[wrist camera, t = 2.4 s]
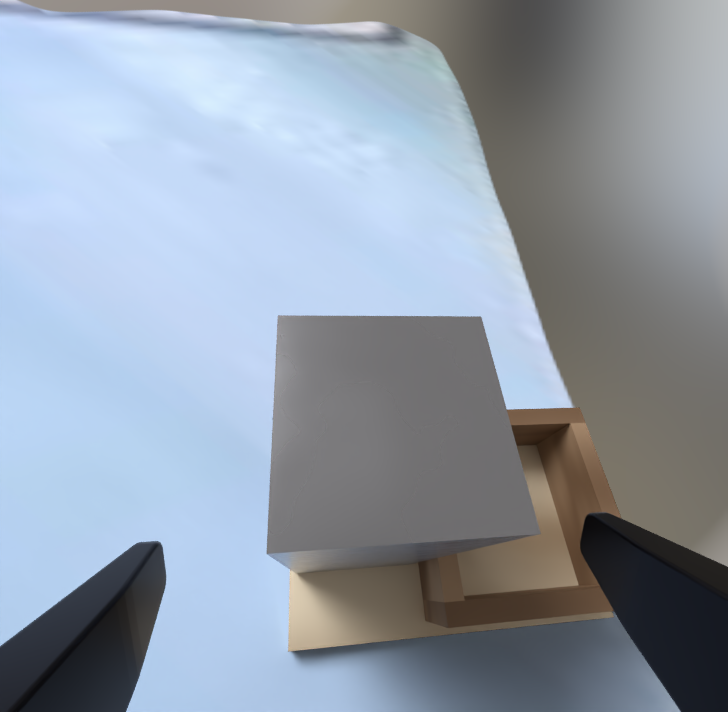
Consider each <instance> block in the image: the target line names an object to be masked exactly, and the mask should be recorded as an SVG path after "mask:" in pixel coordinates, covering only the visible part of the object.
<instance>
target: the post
mask: <svg viewBox="0 0 728 712" xmlns="http://www.w3.org/2000/svg"><path fill="white" fill-rule="evenodd" d="M539 534H541V533H540V529H539V525H538V522H537V518H536V515H535V511H534V507H533V504H532V500H531V496H530V493H529V489H528V485H527V482H526V478H525V475H524V471H523V467H522V464H521V460H520V456H519V453H518V449H517V446H516V442H515V438H514V435H513V431H512V427H511V424H510V420H509V416H508V413H507V409H506V406H505V402H504V398H503V395H502V391H501V387H500V384H499V380H498V376H497V373H496V369H495V366H494V362H493V358H492V355H491V351H490V347H489V344H488V340H487V337H486V333H485V329H484V326H483V322H482V318H481V317H452V316H278V324H277V345H276V366H275V388H274V409H273V430H272V451H271V473H270V494H269V515H268V536H267V554H268V555H269V556H271V557H272V558H274V559H275V560H277V561H278V562H280V563H281V564H283V565H284V566H286V567H287V568H289V569H290V570H292V571H293V572H295V573H296V574H299V573H311V572H324V571H336V570H349V569H361V568H374V567H386V566H399V565H409V564H413V563H418V562H422V561H426V560H431V559H435V558H439V557H444V556H448V555H452V554H457V553H461V552H465V551H469V550H474V549H478V548H482V547H487V546H491V545H495V544H500V543H504V542H508V541H513V540H517V539H521V538H526V537H530V536H534V535H539Z"/></svg>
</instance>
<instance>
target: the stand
mask: <svg viewBox="0 0 728 712" xmlns="http://www.w3.org/2000/svg"><path fill="white" fill-rule="evenodd" d="M507 413H508V416H509V420H510V424H511V427H512V431H513V435H514V438H515V442H516V446H517V449H518V453H519V456H520V460H521V464H522V467H523V471H524V475H525V478H526V482H527V485H528V489H529V493H530V496H531V500H532V504H533V507H534V511H535V515H536V518H537V522H538V525H539V529H540V533H541V534H539V535H534V536H530V537H526V538H521V539H517V540H513V541H508V542H504V543H500V544H495V545H491V546H487V547H482V548H478V549H474V550H469V551H465V552H461V553H457V554H452V555H448V556H444V557H439V558H435V559H431V560H426V561H422V562H418V563H413V564H409V565H399V566H386V567H374V568H361V569H349V570H336V571H324V572H311V573H299V574H296V573H295V572H293V571H292V570H290V592H289V643H288V651H297V650H307V649H316V648H326V647H336V646H345V645H355V644H364V643H374V642H383V641H393V640H402V639H412V638H421V637H431V636H440V635H450V634H459V633H469V632H478V631H488V630H497V629H507V628H517V627H526V626H536V625H545V624H555V623H564V622H574V621H583V620H593V619H602V618H612V617H614V616H613V613H612V611H614V610H613V608H612V606H611V605H610V603H609V601H608V599H607V598H606V596H605V594H604V592H603V591H602V589H601V587H600V585H599V584H598V582H597V580H596V578H595V577H594V575H593V573H592V572H591V570H590V568H589V566H588V565H587V563H586V561H585V559H584V558H583V556H582V553H581V550H580V540H581V535H582V530H583V525H584V520H585V517H586V515H587V514H589V513H594V512H607V513H610V514H612V515H614V516H617V517H619V518H621V516H620V513H619V510H618V508H617V505H616V502H615V500H614V498H613V495H612V492H611V489H610V487H609V484H608V481H607V479H606V476H605V473H604V471H603V468H602V466H601V463H600V460H599V458H598V455H597V452H596V449H595V447H594V444H593V442H592V439H591V436H590V434H589V431H588V428H587V426H586V423H585V420H584V418H583V415H582V413H581V410H580V408H550V409H514V410H507ZM621 519H622V518H621Z"/></svg>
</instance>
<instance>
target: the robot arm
mask: <svg viewBox="0 0 728 712" xmlns="http://www.w3.org/2000/svg"><path fill="white" fill-rule="evenodd" d="M580 550H581V553H582V556H583V558H584V559H585V561H586V563H587V565H588V566H589V568H590V570H591V572H592V573H593V575H594V577H595V578H596V580H597V582H598V584H599V585H600V587H601V589H602V591H603V592H604V594H605V596H606V598H607V599H608V601H609V603H610V605H611V606H612V608H613V610H614V612H615V613H616V615H617V617H618V618H619V620H620V622H621V623H622V625H623V627H624V628H625V630H626V631H627V633H628V634H629V636H630V637H631V639H632V640H633V642H634V643H635V645H636V646H637V648H638V649H639V651H640V652H641V654H642V655H643V657H644V658H645V660H646V661H647V662H648V664H649V665H650V667H651V668H652V670H653V671H654V673H655V674H656V676H657V677H658V679H659V680H660V682H661V683H662V684H663V686H664V687H665V689H666V690H667V692H668V693H669V695H670V696H671V698H672V699H673V701H674V702H675V704H676V705H677V706H678V708H679V709H680V711H681V712H728V567H727V566H725V565H722V564H720V563H718V562H716V561H714V560H711V559H709V558H707V557H705V556H702V555H700V554H698V553H696V552H694V551H691V550H689V549H687V548H685V547H683V546H681V545H678V544H676V543H674V542H672V541H670V540H667V539H665V538H663V537H661V536H658V535H656V534H654V533H652V532H650V531H647V530H645V529H643V528H641V527H639V526H636V525H634V524H632V523H630V522H627V521H625V520H623V519H621V518H619V517H617V516H614V515H612V514H610V513H607V512H594V513H589V514H587V515H586V517H585V520H584V525H583V530H582V535H581V540H580ZM165 585H166V570H165V562H164V554H163V547H162V545H161V543H160V542H158V541H151V542H139V543H136V544H135V545H133V546H132V547H131V548H129V549H128V550H127V551H125V552H124V553H123V554H122V555H120V556H119V557H118V558H116V559H115V560H114V561H112V562H111V563H110V564H108V565H107V566H106V567H104V568H103V569H102V570H100V571H99V572H98V573H96V574H95V575H94V576H92V577H91V578H90V579H89V580H87V581H86V582H85V583H83V584H82V585H81V586H79V587H78V588H77V589H75V590H74V591H73V592H71V593H70V594H69V595H67V596H66V597H65V598H63V599H62V600H61V601H59V602H58V603H57V604H56V605H54V606H53V607H52V608H50V609H49V610H48V611H46V612H45V613H44V614H42V615H41V616H40V617H38V618H37V619H36V620H34V621H33V622H32V623H30V624H29V625H28V626H26V627H25V628H24V629H23V630H21V631H20V632H19V633H17V634H16V635H15V636H13V637H12V638H11V639H9V640H8V641H7V642H5V643H4V644H3V645H1V646H0V712H126V710H127V708H128V705H129V703H130V700H131V698H132V695H133V692H134V690H135V687H136V684H137V681H138V679H139V676H140V672H141V669H142V666H143V663H144V659H145V656H146V652H147V649H148V645H149V642H150V638H151V635H152V632H153V628H154V625H155V621H156V618H157V614H158V611H159V607H160V604H161V600H162V597H163V593H164V590H165Z"/></svg>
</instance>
